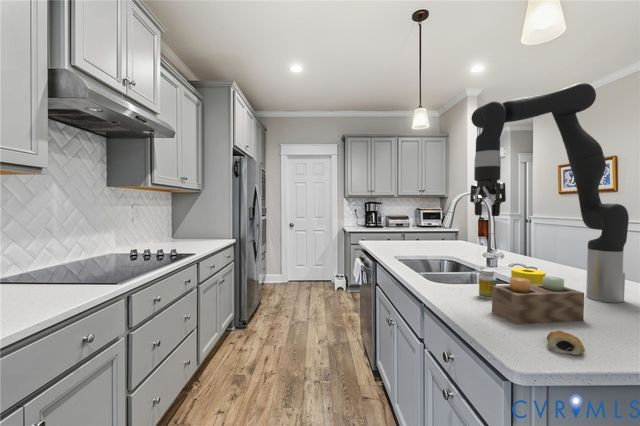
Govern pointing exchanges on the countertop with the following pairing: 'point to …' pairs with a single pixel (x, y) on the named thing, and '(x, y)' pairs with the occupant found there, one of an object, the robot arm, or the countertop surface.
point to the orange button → (520, 284)
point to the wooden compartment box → (538, 304)
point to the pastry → (564, 343)
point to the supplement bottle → (486, 283)
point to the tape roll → (528, 275)
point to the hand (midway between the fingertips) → (486, 215)
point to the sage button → (553, 283)
